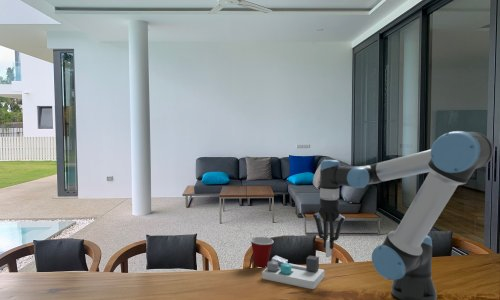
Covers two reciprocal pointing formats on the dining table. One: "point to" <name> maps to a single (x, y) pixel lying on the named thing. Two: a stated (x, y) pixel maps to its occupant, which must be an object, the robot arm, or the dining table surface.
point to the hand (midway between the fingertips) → (328, 256)
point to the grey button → (272, 266)
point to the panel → (296, 276)
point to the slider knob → (312, 263)
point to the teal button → (285, 269)
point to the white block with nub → (279, 260)
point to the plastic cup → (261, 250)
